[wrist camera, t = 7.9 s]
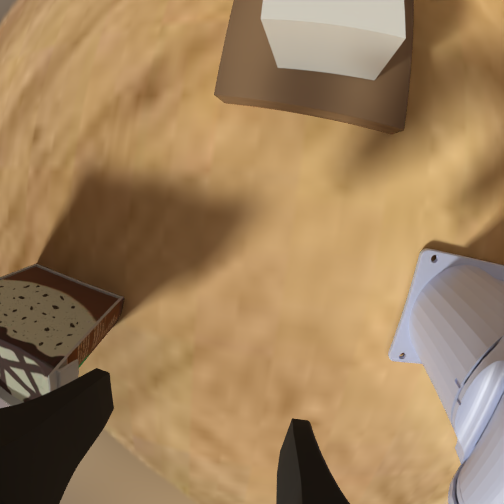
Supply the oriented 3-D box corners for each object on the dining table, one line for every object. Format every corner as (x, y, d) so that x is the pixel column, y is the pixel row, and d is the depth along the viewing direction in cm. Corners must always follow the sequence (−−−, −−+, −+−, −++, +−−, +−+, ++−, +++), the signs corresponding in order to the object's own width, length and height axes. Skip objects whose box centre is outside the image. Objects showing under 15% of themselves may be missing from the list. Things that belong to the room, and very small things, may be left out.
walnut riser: (401, 2, 14) (413, -19, 12) (389, 135, 17) (403, 130, 14) (253, -24, 16) (245, -47, 13) (227, 104, 18) (213, 94, 15)
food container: (30, 318, 25) (-42, 367, 15) (25, 258, 23) (-60, 298, 14) (138, 368, 24) (73, 451, 14) (141, 302, 22) (56, 380, 13)
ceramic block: (375, 3, 13) (397, -56, 7) (374, 80, 14) (405, 38, 8) (285, -8, 13) (272, -72, 8) (277, 67, 15) (260, 18, 9)
